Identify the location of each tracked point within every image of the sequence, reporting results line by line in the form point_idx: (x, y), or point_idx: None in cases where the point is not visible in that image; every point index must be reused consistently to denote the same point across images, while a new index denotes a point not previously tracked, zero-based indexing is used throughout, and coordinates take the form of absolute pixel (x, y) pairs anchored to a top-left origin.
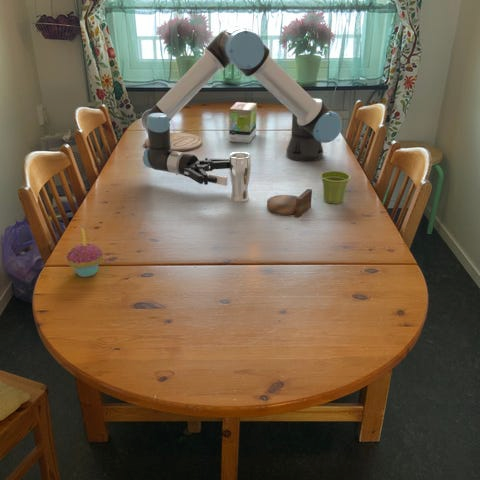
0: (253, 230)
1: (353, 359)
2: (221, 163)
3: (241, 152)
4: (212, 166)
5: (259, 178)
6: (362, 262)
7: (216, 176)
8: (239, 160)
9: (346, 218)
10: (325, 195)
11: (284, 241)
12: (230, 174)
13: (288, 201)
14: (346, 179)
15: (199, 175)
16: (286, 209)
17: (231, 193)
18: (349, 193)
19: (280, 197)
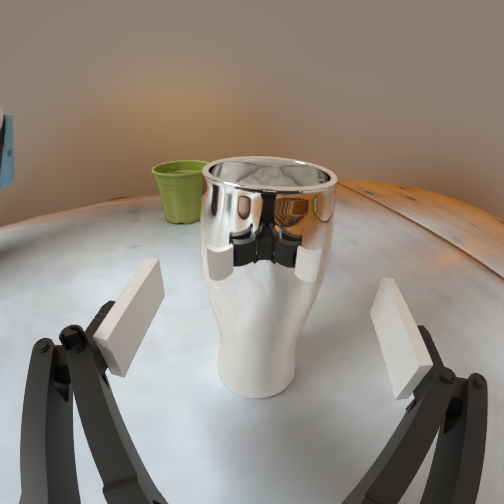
0: (406, 275)
1: (459, 203)
2: (111, 408)
3: (208, 171)
4: (150, 487)
5: None
6: (361, 195)
7: (411, 322)
8: (324, 179)
9: None
10: (196, 208)
11: (392, 239)
12: (314, 296)
13: None
14: (171, 171)
15: (479, 396)
16: None
17: (279, 377)
18: (144, 209)
19: None
